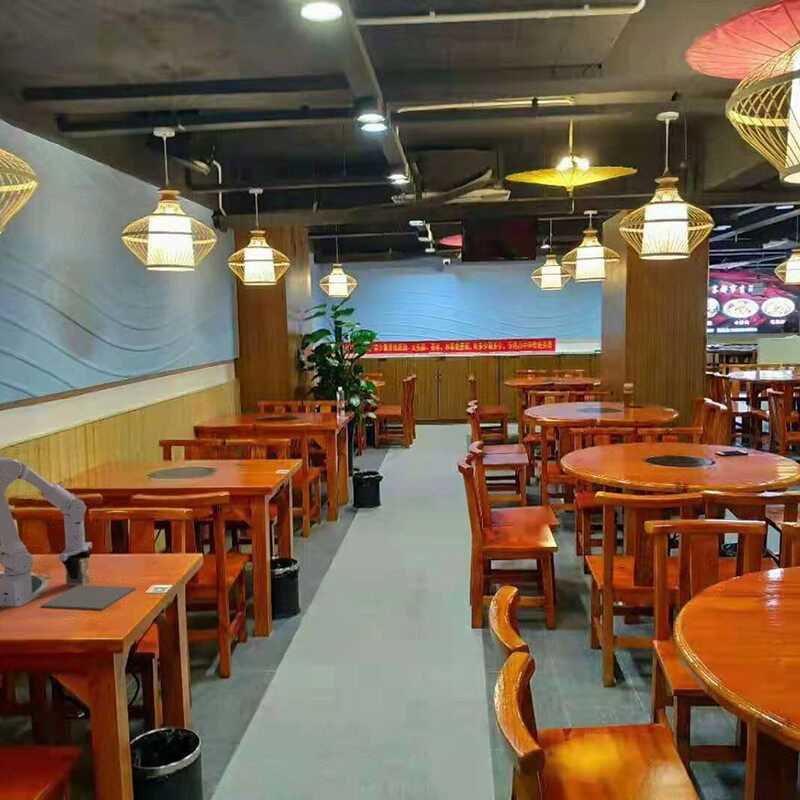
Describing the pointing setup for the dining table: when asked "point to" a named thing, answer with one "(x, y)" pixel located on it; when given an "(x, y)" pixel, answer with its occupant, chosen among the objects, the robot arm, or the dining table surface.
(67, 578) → the light wood block
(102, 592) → the mat
